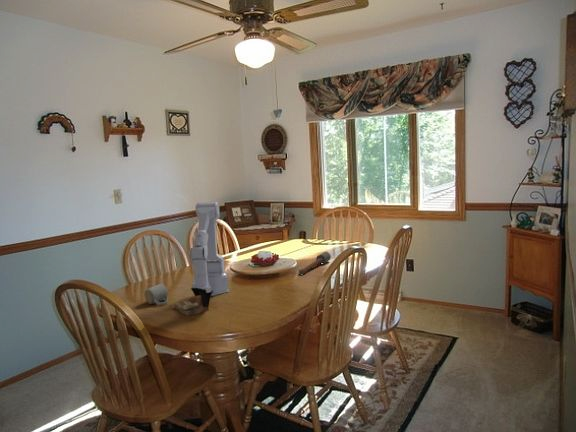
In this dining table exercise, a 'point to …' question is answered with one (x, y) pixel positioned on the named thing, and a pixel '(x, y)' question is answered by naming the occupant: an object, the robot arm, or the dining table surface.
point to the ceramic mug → (156, 294)
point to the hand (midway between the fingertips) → (202, 304)
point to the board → (187, 311)
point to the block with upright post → (197, 304)
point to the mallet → (317, 262)
